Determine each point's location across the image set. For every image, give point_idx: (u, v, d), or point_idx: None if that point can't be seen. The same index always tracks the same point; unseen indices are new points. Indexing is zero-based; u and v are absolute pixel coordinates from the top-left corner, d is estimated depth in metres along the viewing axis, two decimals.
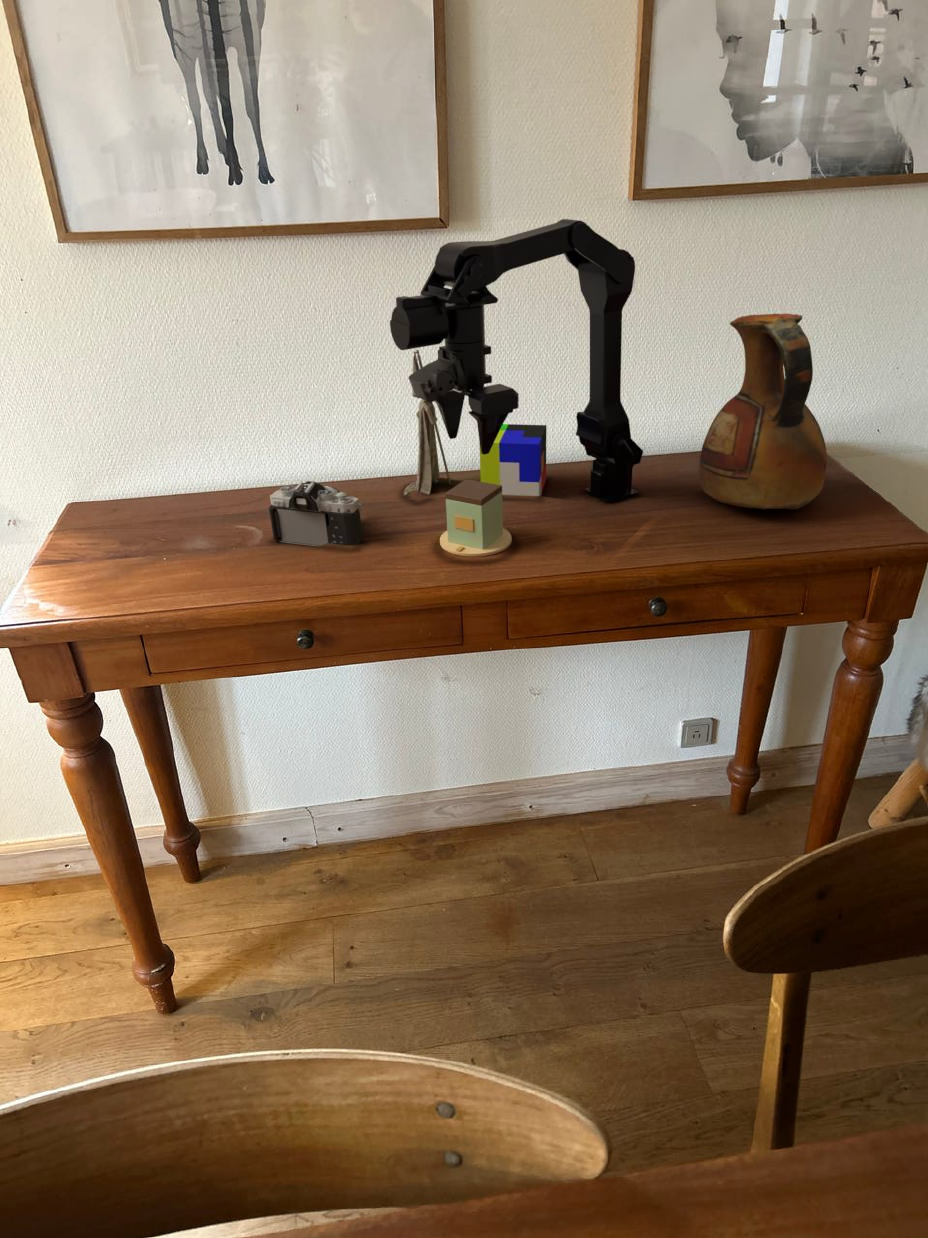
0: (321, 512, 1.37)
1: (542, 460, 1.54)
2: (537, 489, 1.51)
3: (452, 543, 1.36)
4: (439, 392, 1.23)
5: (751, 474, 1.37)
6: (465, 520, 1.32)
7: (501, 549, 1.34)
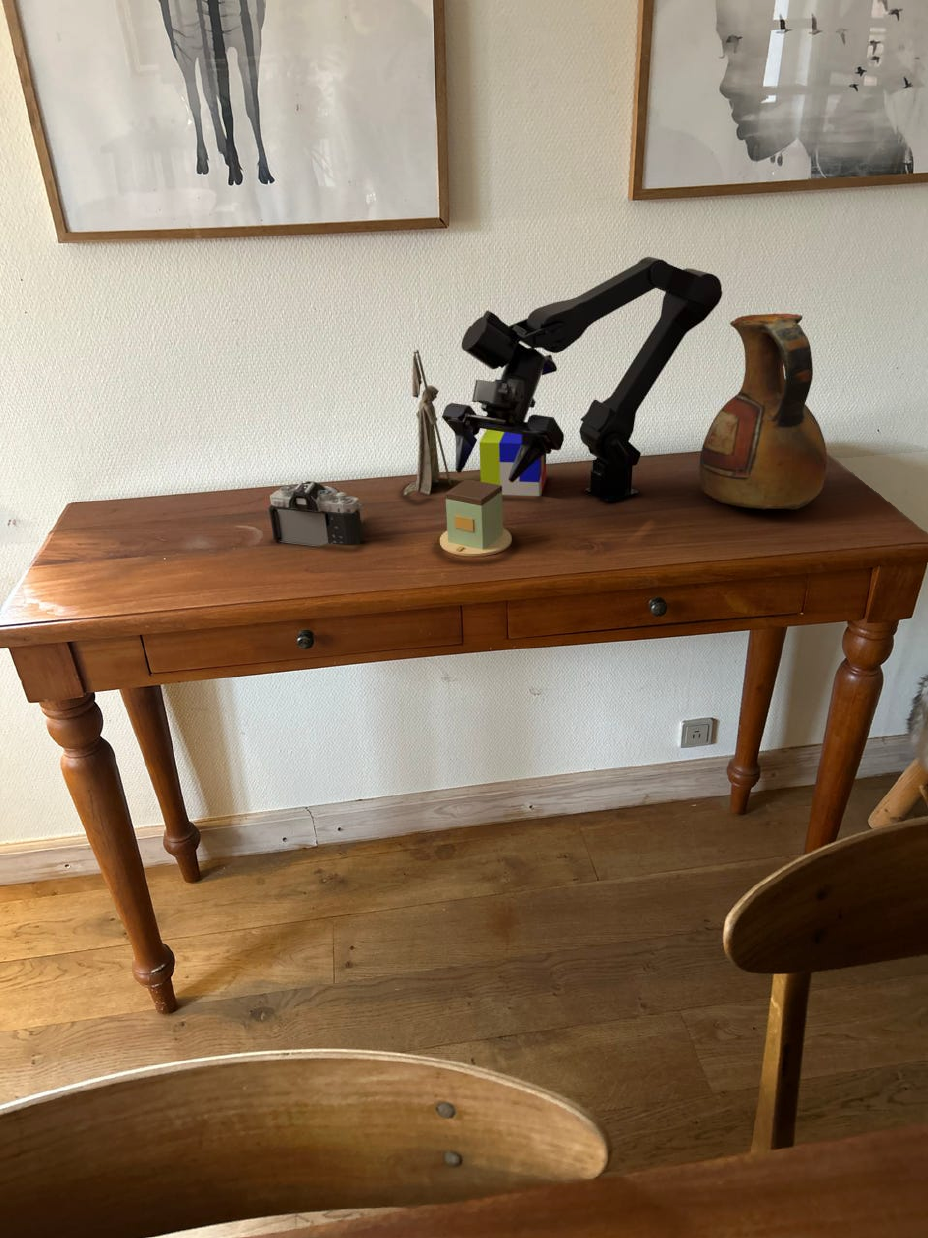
0: (321, 512, 1.37)
1: (542, 460, 1.54)
2: (537, 489, 1.51)
3: (452, 543, 1.36)
4: (515, 396, 1.29)
5: (751, 474, 1.37)
6: (465, 520, 1.32)
7: (501, 549, 1.34)
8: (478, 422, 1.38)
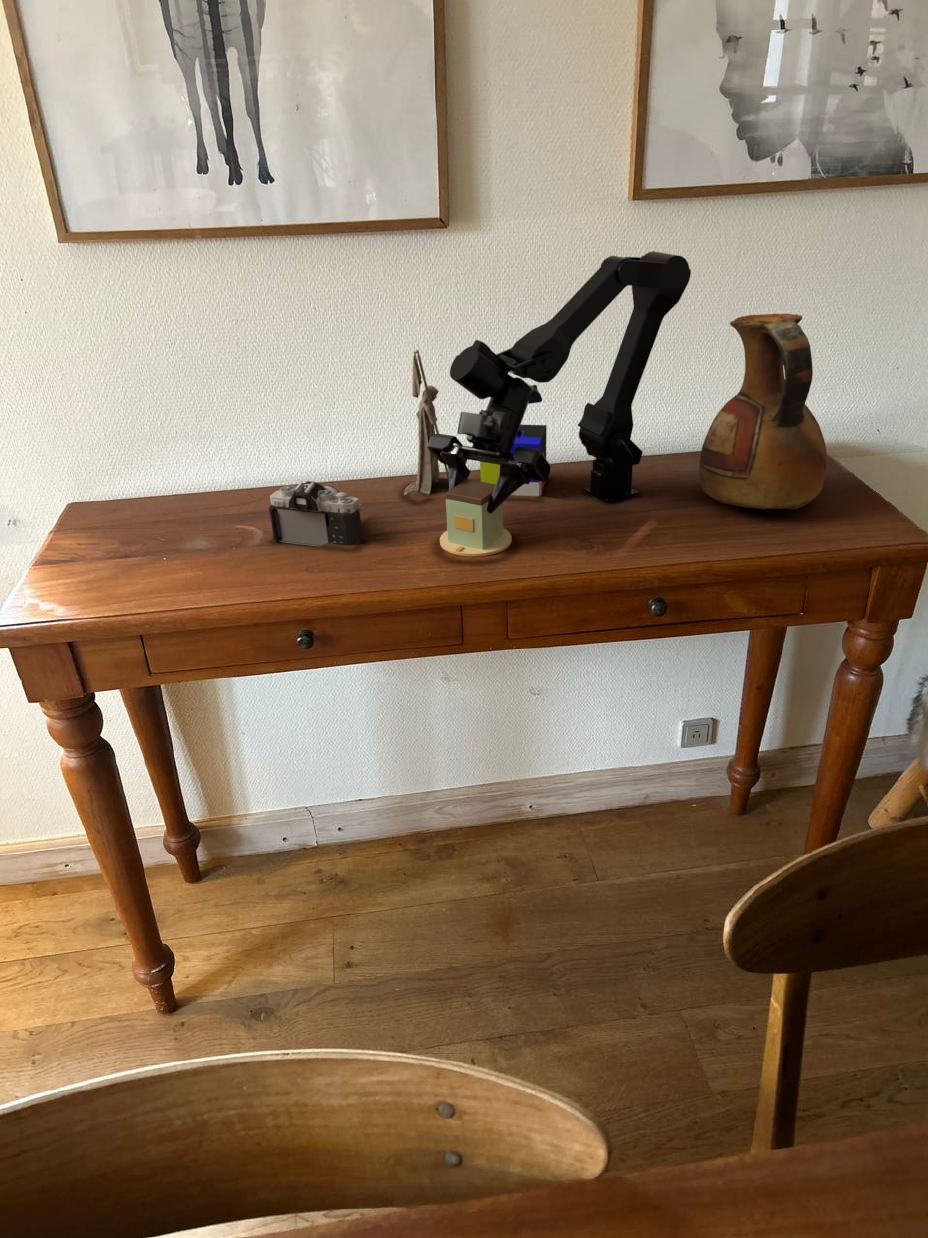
0: (321, 512, 1.37)
1: None
2: (537, 489, 1.51)
3: (452, 543, 1.36)
4: (500, 428, 1.27)
5: (751, 474, 1.37)
6: (465, 520, 1.32)
7: (501, 549, 1.34)
8: (464, 453, 1.36)
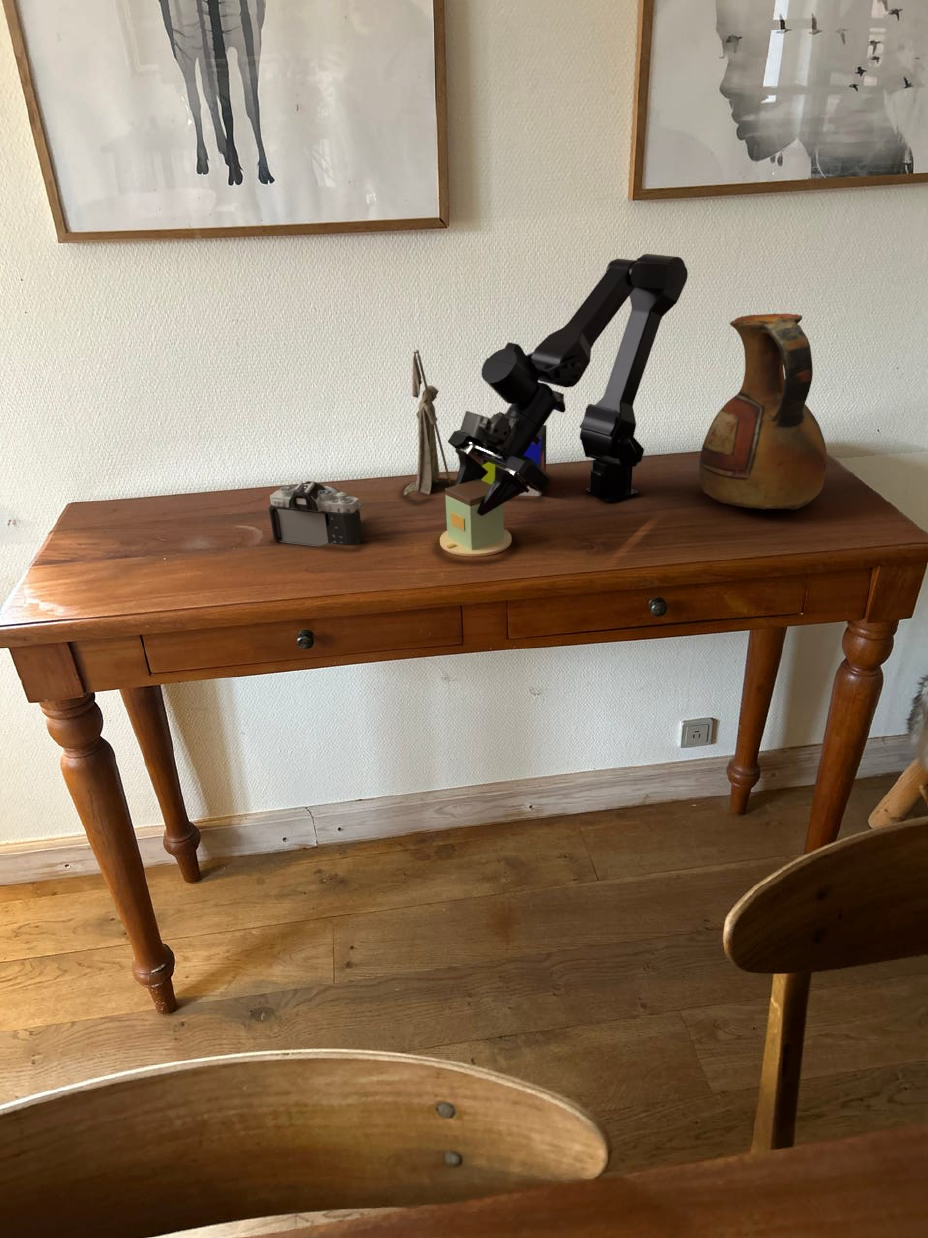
0: (321, 512, 1.37)
1: (542, 460, 1.54)
2: None
3: (450, 539, 1.37)
4: (493, 432, 1.26)
5: (751, 474, 1.37)
6: (458, 518, 1.33)
7: (489, 553, 1.33)
8: (479, 452, 1.36)
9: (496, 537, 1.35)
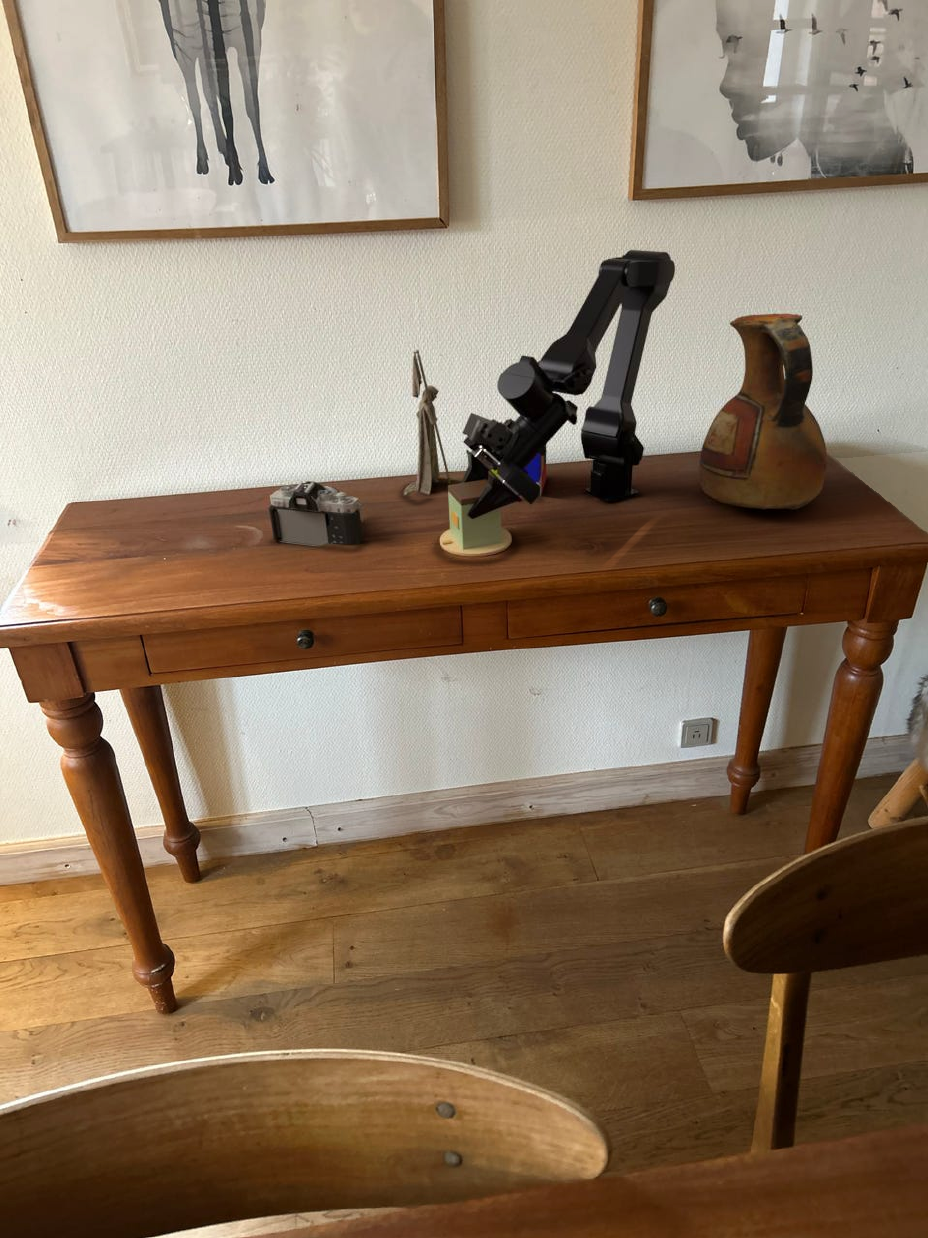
0: (321, 512, 1.37)
1: (542, 460, 1.54)
2: None
3: (451, 535, 1.38)
4: (486, 436, 1.25)
5: (751, 474, 1.37)
6: (454, 516, 1.34)
7: (478, 554, 1.32)
8: (488, 457, 1.36)
9: (492, 540, 1.35)
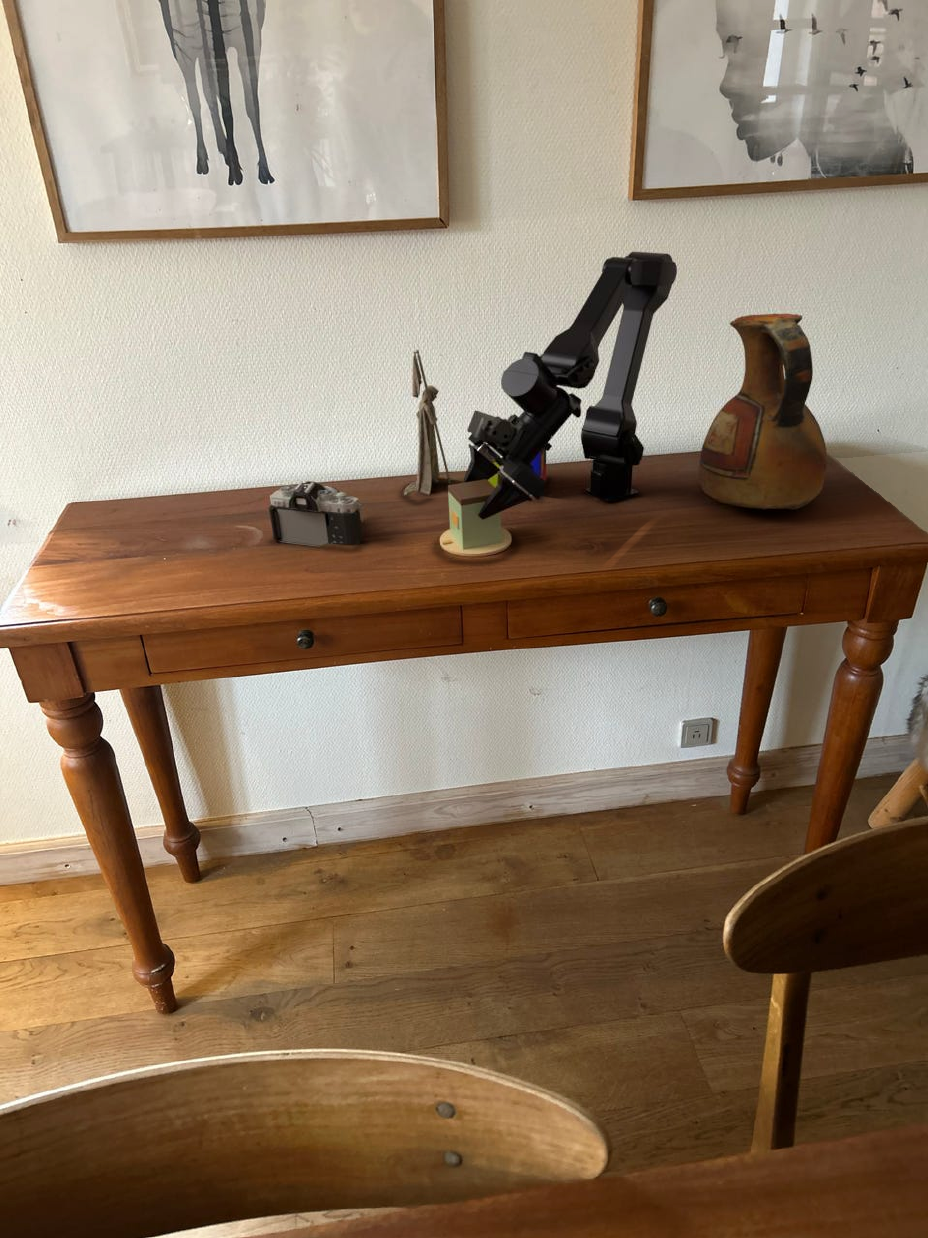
0: (321, 512, 1.37)
1: (542, 460, 1.54)
2: None
3: (451, 535, 1.38)
4: (491, 434, 1.25)
5: (751, 474, 1.37)
6: (454, 516, 1.34)
7: (478, 554, 1.32)
8: (494, 453, 1.36)
9: (492, 540, 1.35)
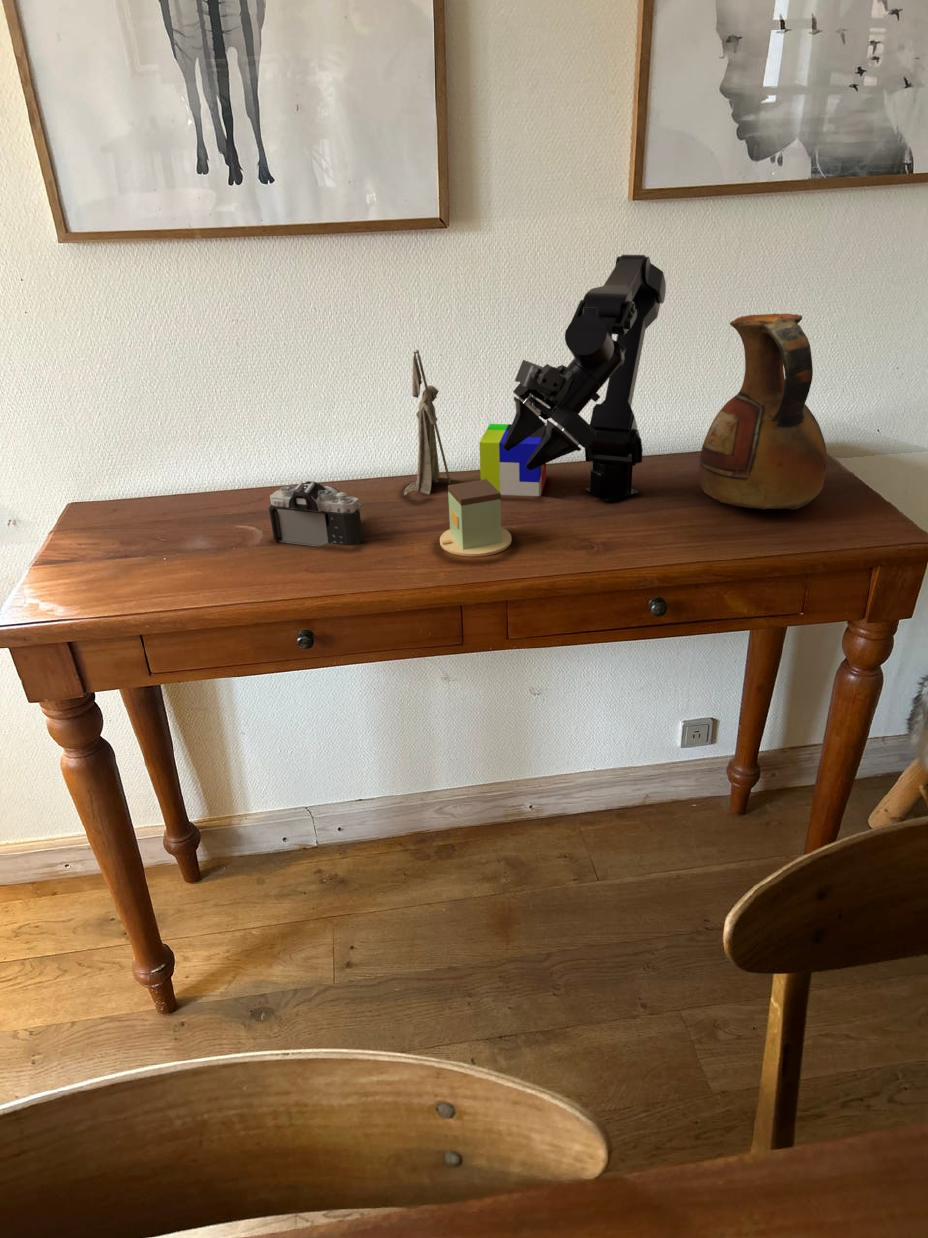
0: (321, 512, 1.37)
1: None
2: (537, 489, 1.51)
3: (451, 535, 1.38)
4: (541, 382, 1.24)
5: (751, 474, 1.37)
6: (454, 516, 1.34)
7: (478, 554, 1.32)
8: (540, 405, 1.35)
9: (492, 540, 1.35)
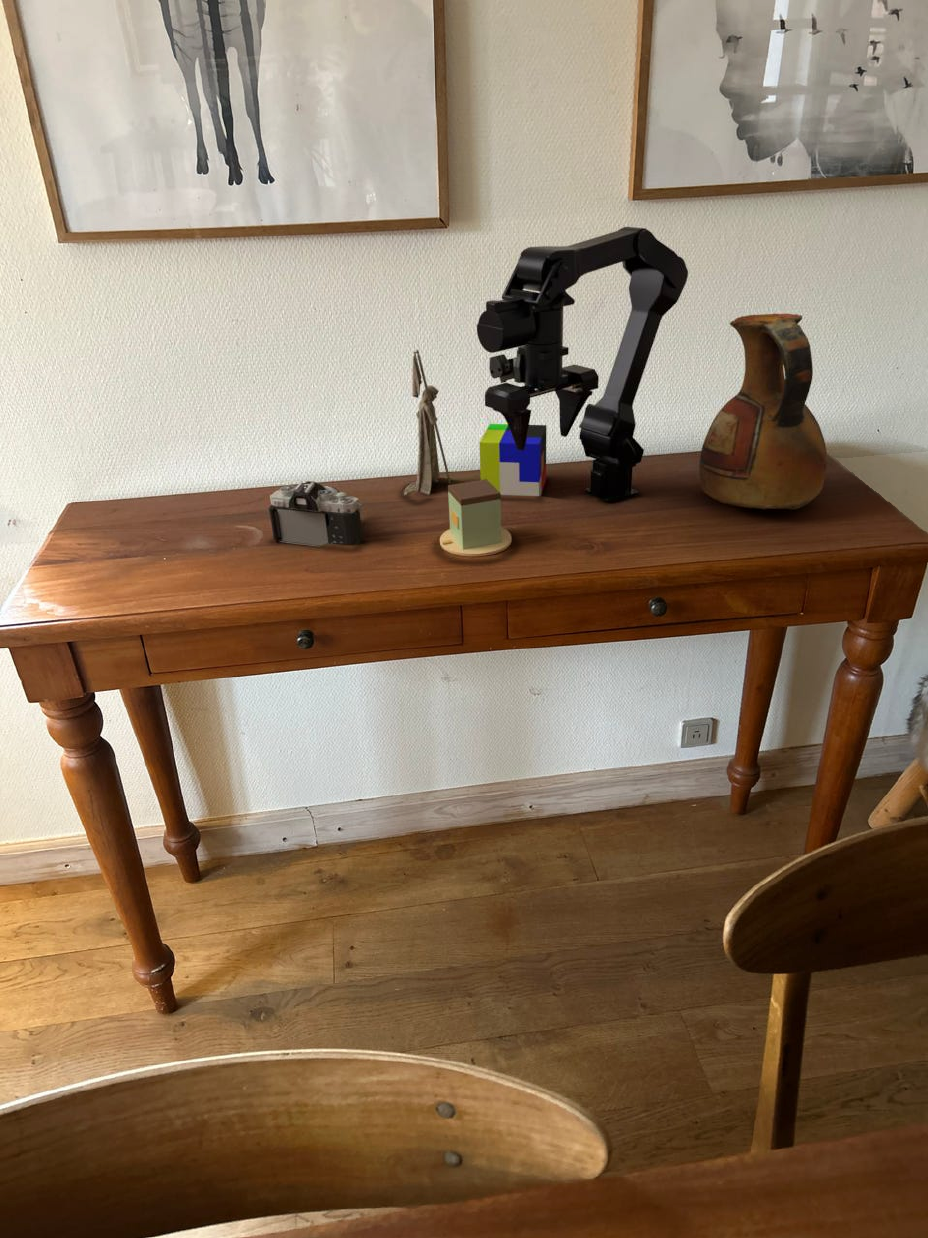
0: (321, 512, 1.37)
1: (542, 460, 1.54)
2: (537, 489, 1.51)
3: (451, 535, 1.38)
4: (491, 374, 1.36)
5: (751, 474, 1.37)
6: (454, 516, 1.34)
7: (478, 554, 1.32)
8: None
9: (492, 540, 1.35)
